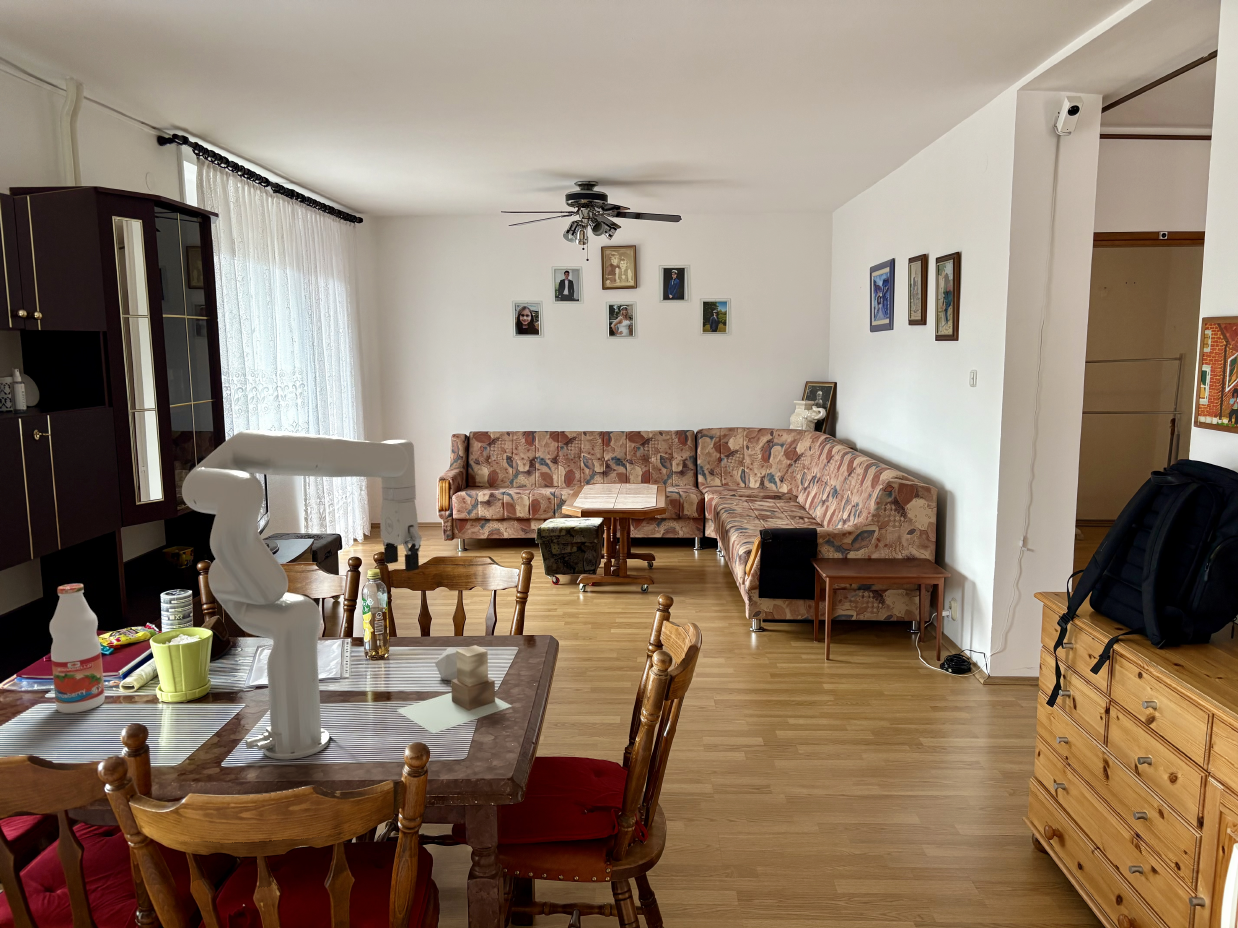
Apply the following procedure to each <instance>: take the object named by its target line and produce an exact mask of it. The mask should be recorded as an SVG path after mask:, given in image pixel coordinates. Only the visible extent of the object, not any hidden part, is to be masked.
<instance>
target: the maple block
mask: <svg viewBox="0 0 1238 928" xmlns="http://www.w3.org/2000/svg"><path fill="white" fill-rule="evenodd" d="M459 649H460V650H456V656H457V680H458V681H460V682H461V683H463V684H465V685H467V686H473V685H476V684H479V683H482V682H486V681H488V678H489V661H488V660H489V659H488V657H489V655H488V653H489V652H488V650H486V649H484V648H482V647H480V646H478V645H476V644H475V645H471V646H467V647H464V648H459Z"/></svg>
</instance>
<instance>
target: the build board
mask: <svg viewBox="0 0 1238 928" xmlns="http://www.w3.org/2000/svg"><path fill="white" fill-rule="evenodd" d="M509 708H512V705H511V704H509V703H507V701H506V702H505V701H503V700H501V699H500V698H497V697H496V696H495V702H493V703H491V704H488V705H485V706H482V707H479V708H476V709H473V710H470V711H468V710H466V709H465V708H463V707H461V706H459V705H457V704H456V703H454V702H452V692H450V693H446V694H442V695H439V696H436V697H433V698H429V699H427V700H423V701H420V702H418V703H414V704H410V705H408V706H405V707H401V708H398V709H395V711H396V712H398V713H399V714H401V715H403V716H405V717H406V718H407V719H409V720H411V721H412V722H414V723H415V724H417V725H419V726H420V727H422V728H423V729H425V730H427V731H428V732H429V733H431V734H433V735H434V734H437V733H439V732H443V731H445V730H448V729H451V728H454V727H457V726H459V725H462V724H465V723H468V722H472V721H474V720H477V719H479V718H483V717H485V716H488V715H491V714H494V713H497V712H500V711H502V710H505V709H509Z"/></svg>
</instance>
